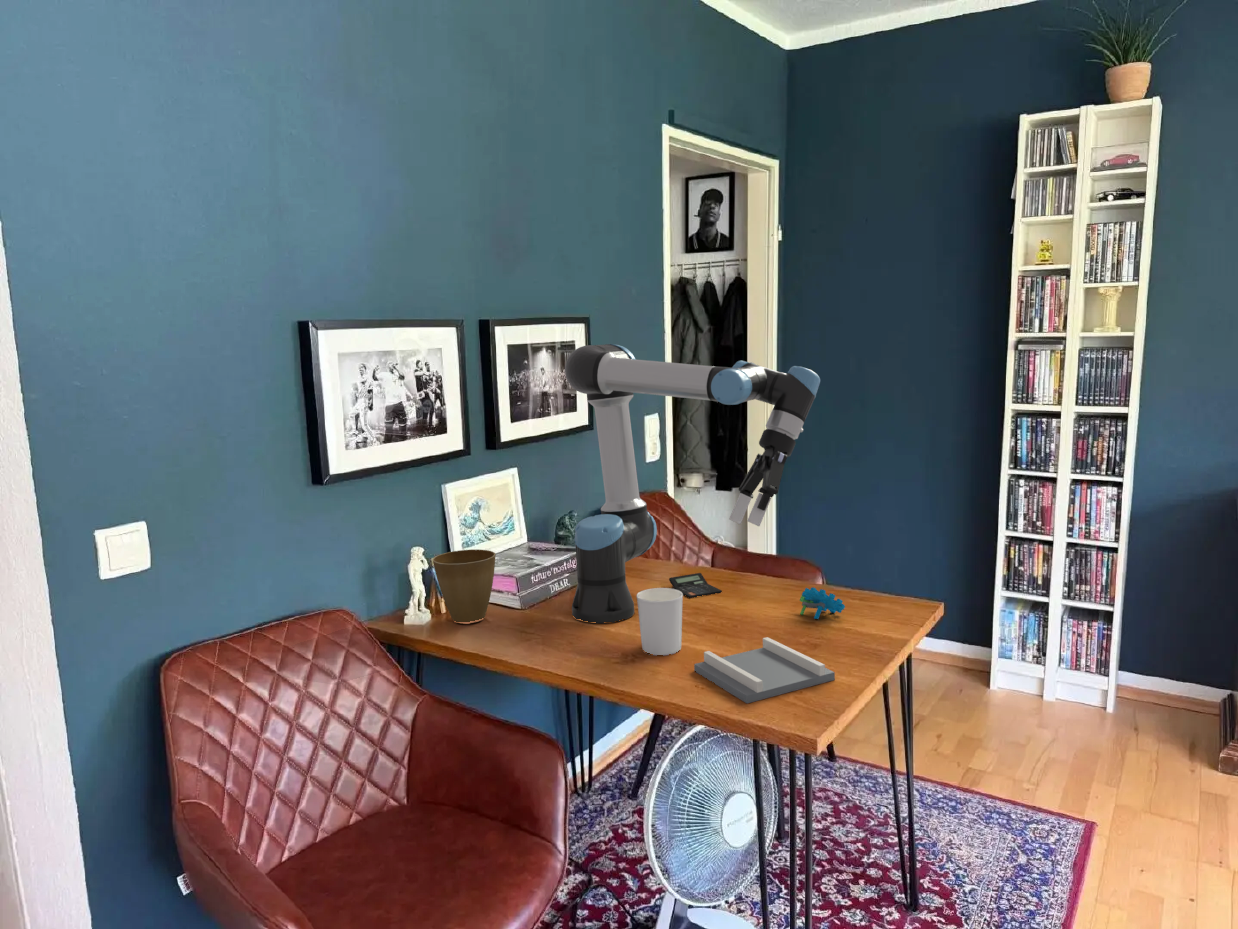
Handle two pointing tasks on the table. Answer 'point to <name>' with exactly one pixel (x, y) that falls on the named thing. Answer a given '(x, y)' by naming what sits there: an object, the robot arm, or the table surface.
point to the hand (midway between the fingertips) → (743, 522)
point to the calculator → (693, 585)
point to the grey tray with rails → (763, 671)
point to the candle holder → (660, 620)
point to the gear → (820, 602)
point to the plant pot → (466, 582)
